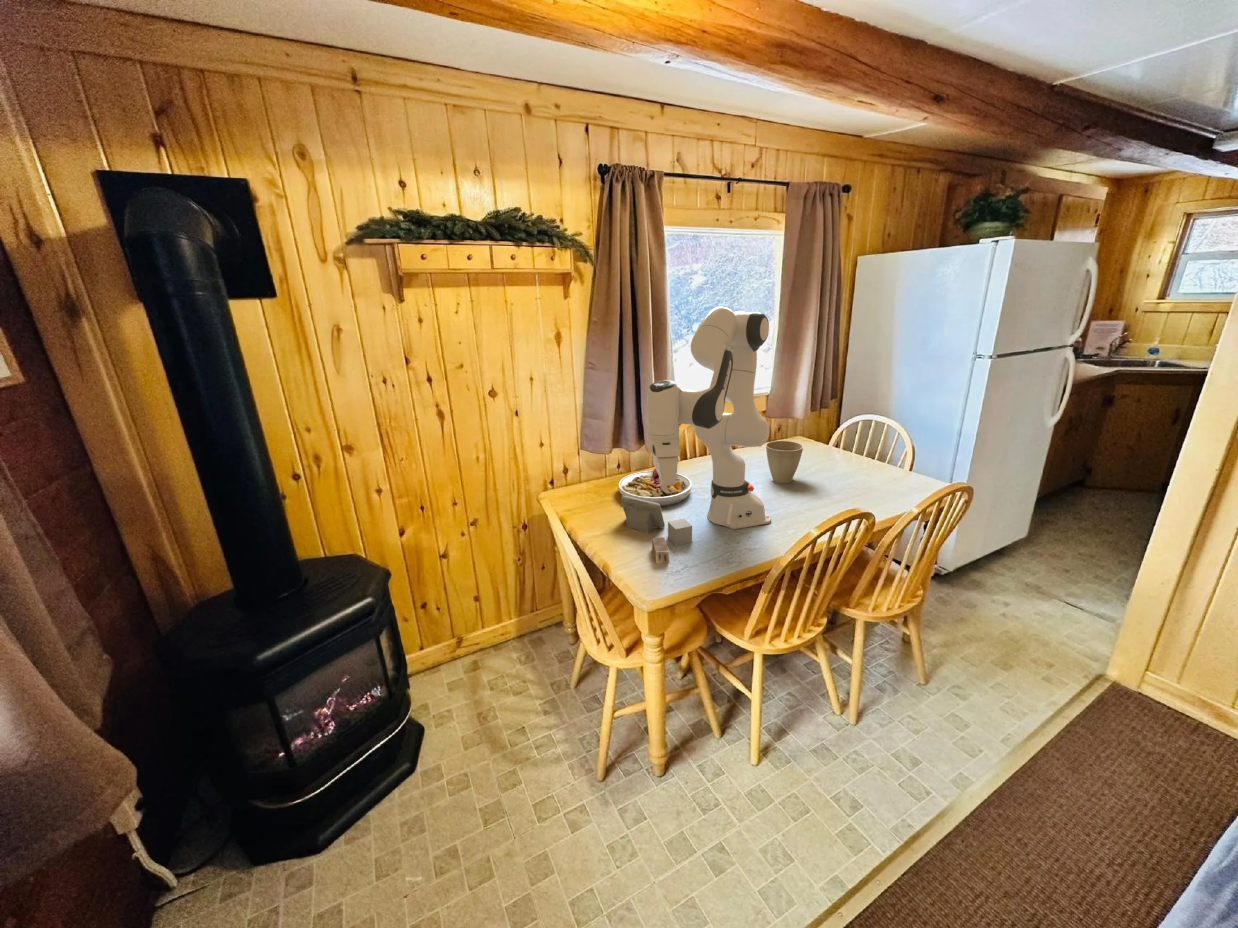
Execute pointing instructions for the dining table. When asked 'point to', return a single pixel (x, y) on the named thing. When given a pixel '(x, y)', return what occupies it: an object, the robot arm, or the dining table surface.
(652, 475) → the bowl
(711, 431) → the robot arm
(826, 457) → the dining table surface
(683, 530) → the grey cube
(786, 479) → the plant pot
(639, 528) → the digital clock
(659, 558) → the walnut post
